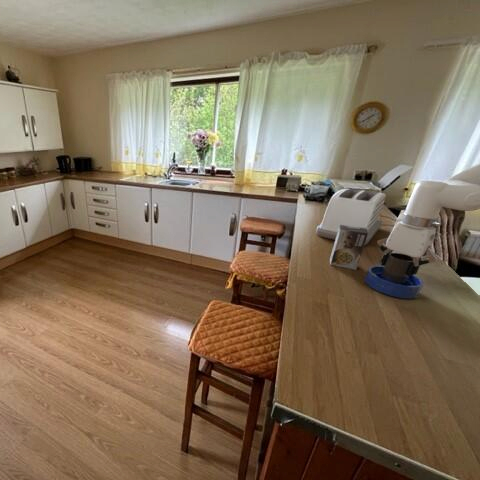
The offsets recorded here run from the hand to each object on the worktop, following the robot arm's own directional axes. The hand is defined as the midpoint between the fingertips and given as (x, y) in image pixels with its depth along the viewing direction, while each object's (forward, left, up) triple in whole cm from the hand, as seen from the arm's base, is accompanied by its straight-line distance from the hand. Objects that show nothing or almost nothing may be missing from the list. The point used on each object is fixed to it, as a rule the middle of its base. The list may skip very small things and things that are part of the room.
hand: (396, 269), depth 88 cm
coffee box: (+18, -2, -8) cm, 20 cm away
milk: (+12, -26, -8) cm, 30 cm away
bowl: (0, 0, -7) cm, 7 cm away
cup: (0, 0, -3) cm, 3 cm away
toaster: (+42, -45, -8) cm, 62 cm away
